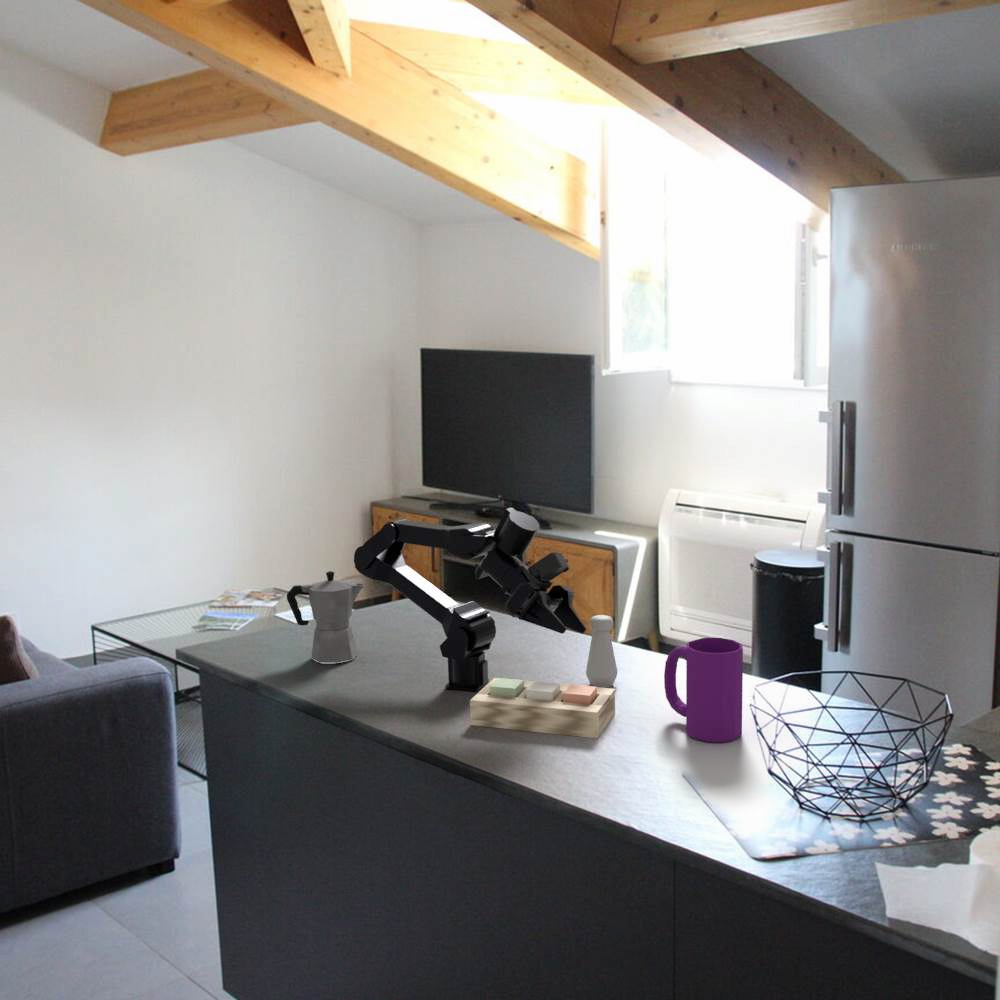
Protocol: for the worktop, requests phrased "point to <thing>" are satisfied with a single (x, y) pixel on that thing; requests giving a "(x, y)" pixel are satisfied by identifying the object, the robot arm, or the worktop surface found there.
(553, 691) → the middle key
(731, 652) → the mug
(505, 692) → the sage key
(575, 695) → the terracotta key
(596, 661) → the salt shaker
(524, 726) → the keypad
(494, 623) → the robot arm
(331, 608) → the coffeepot
